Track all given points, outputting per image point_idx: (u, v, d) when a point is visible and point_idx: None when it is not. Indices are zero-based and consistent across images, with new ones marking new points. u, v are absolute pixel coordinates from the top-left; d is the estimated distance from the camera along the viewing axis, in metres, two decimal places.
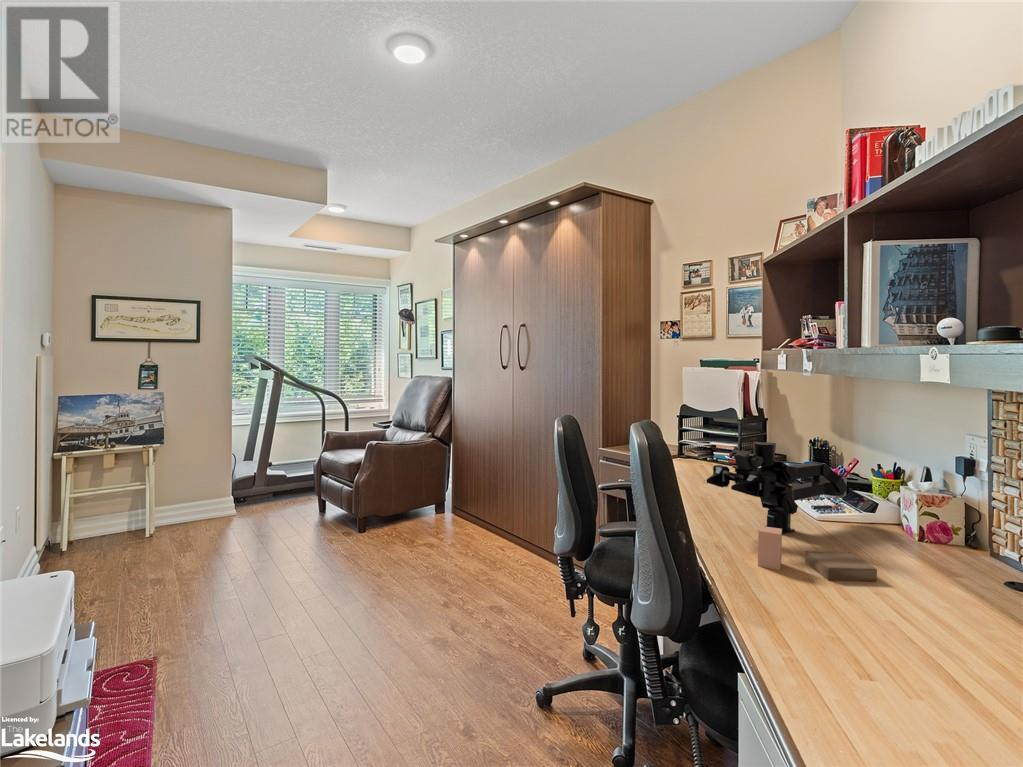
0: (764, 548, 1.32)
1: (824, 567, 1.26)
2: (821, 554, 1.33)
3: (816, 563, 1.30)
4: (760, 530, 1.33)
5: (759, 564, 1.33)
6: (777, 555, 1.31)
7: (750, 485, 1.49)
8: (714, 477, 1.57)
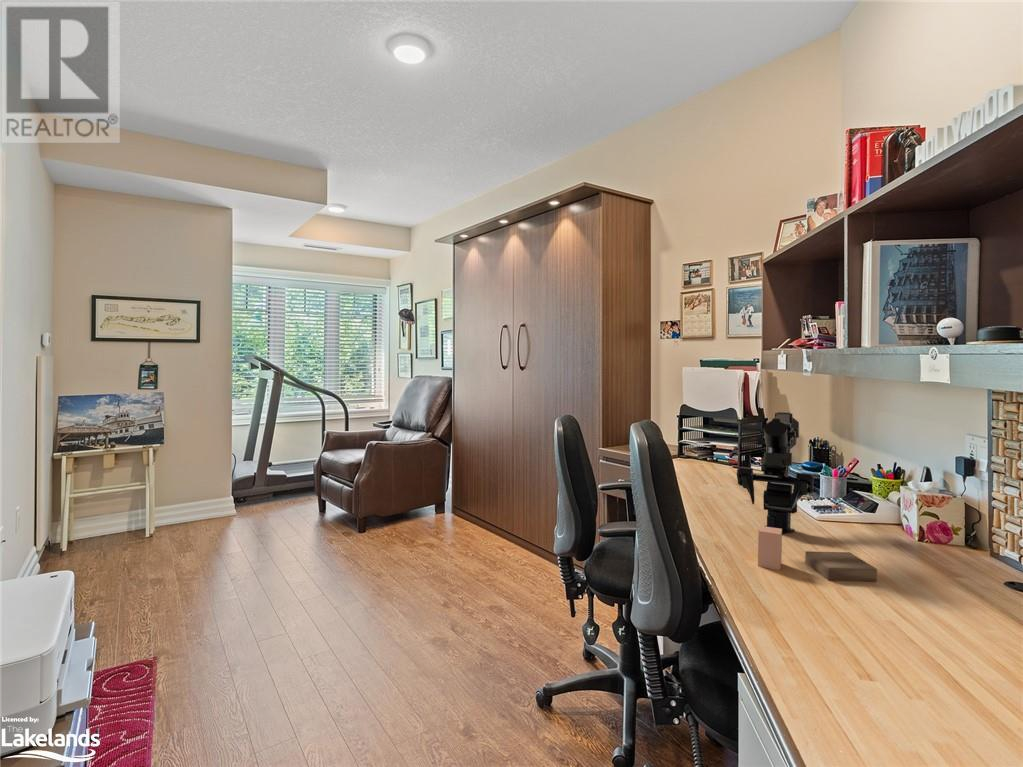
0: (764, 548, 1.32)
1: (824, 567, 1.26)
2: (821, 554, 1.33)
3: (816, 563, 1.30)
4: (760, 530, 1.33)
5: (759, 564, 1.33)
6: (777, 555, 1.31)
7: None
8: (753, 492, 1.44)
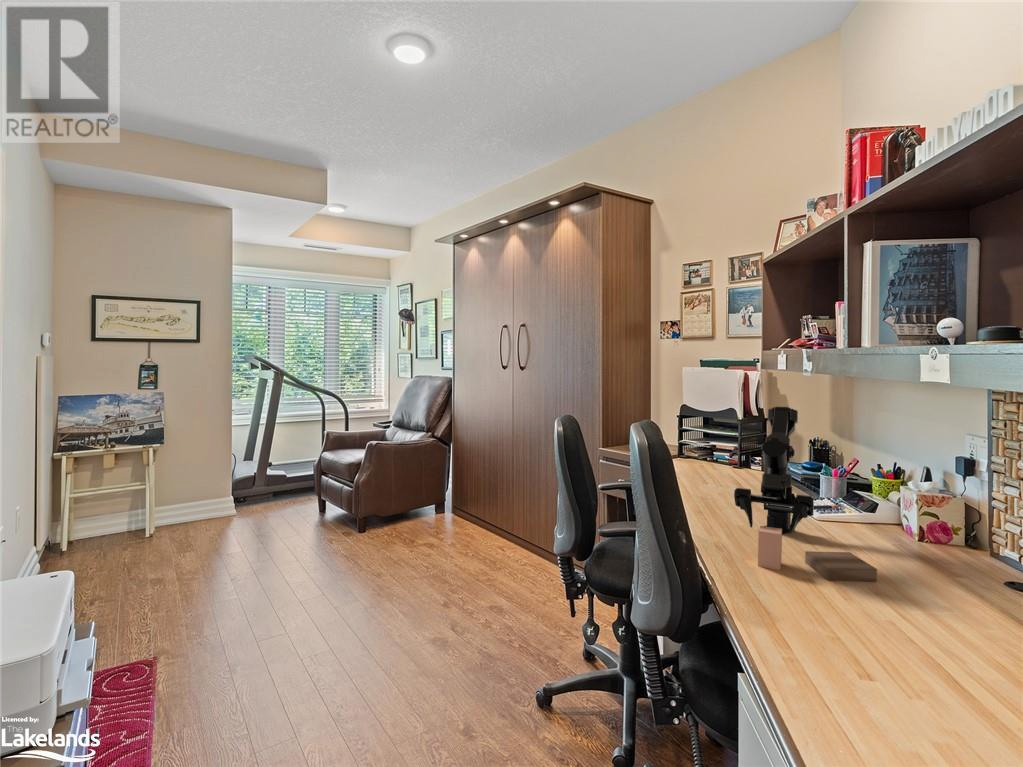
0: (764, 548, 1.32)
1: (824, 567, 1.26)
2: (821, 554, 1.33)
3: (816, 563, 1.30)
4: (760, 530, 1.33)
5: (759, 564, 1.33)
6: (777, 555, 1.31)
7: None
8: (751, 515, 1.38)
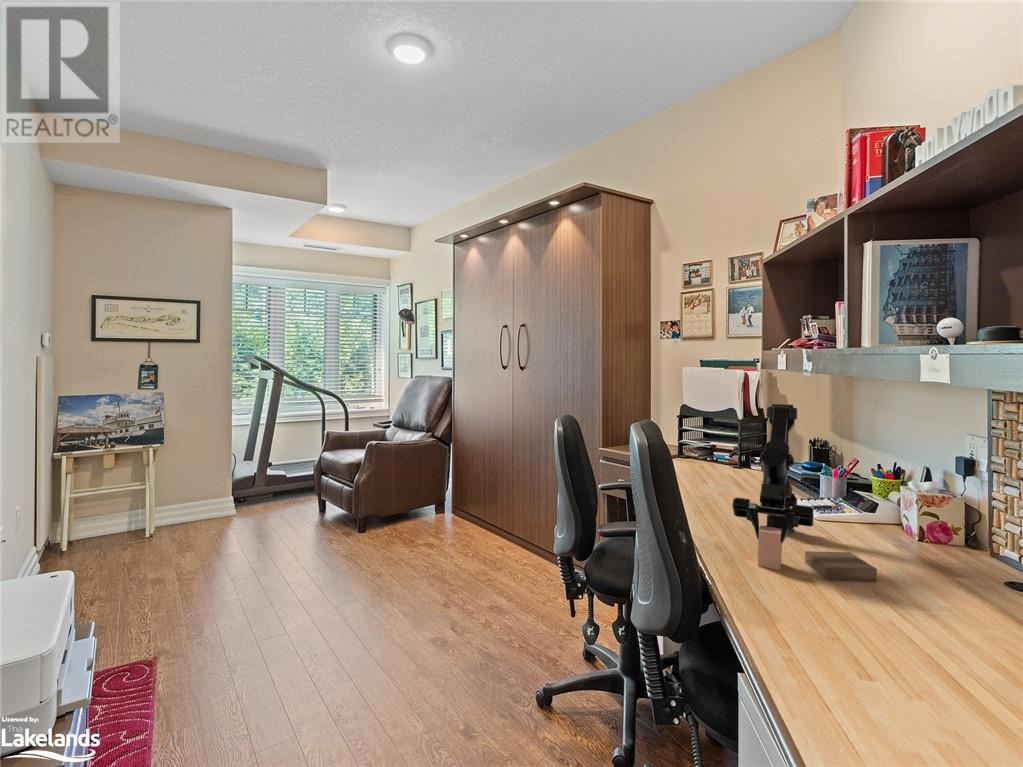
0: (764, 548, 1.32)
1: (824, 567, 1.26)
2: (821, 554, 1.33)
3: (816, 563, 1.30)
4: (760, 530, 1.33)
5: (759, 564, 1.33)
6: (777, 555, 1.31)
7: None
8: (758, 526, 1.35)
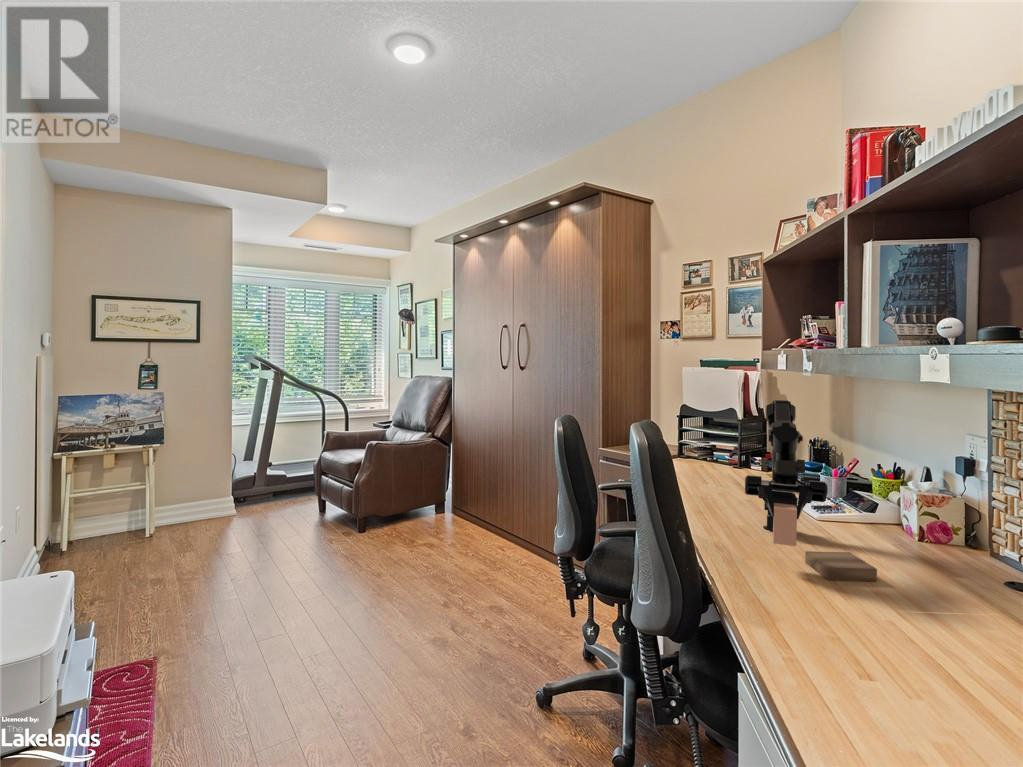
0: (779, 525, 1.30)
1: (824, 567, 1.26)
2: (821, 554, 1.33)
3: (816, 563, 1.30)
4: (776, 507, 1.31)
5: (775, 541, 1.31)
6: (793, 532, 1.29)
7: None
8: (773, 503, 1.33)
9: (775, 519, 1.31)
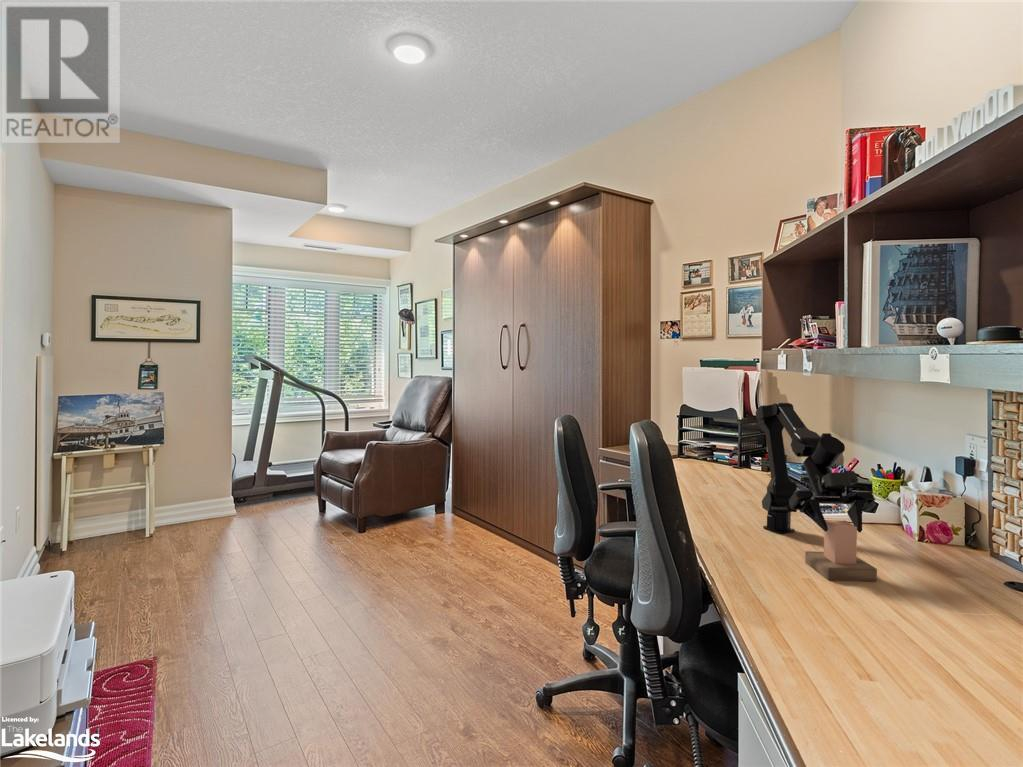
0: (840, 544, 1.27)
1: (824, 567, 1.26)
2: (821, 554, 1.33)
3: (816, 563, 1.30)
4: (835, 525, 1.27)
5: (836, 561, 1.27)
6: (853, 549, 1.27)
7: None
8: None
9: (836, 538, 1.27)
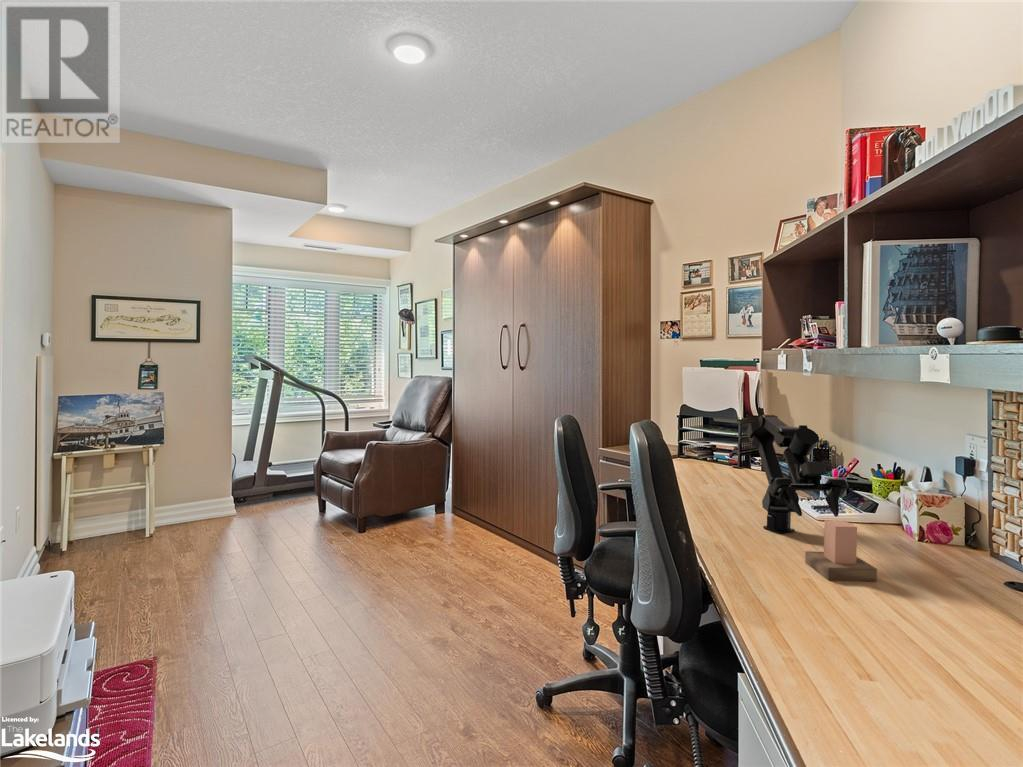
0: (840, 544, 1.27)
1: (824, 567, 1.26)
2: (821, 554, 1.33)
3: (816, 563, 1.30)
4: (835, 525, 1.27)
5: (836, 561, 1.27)
6: (853, 549, 1.27)
7: None
8: None
9: (836, 538, 1.27)
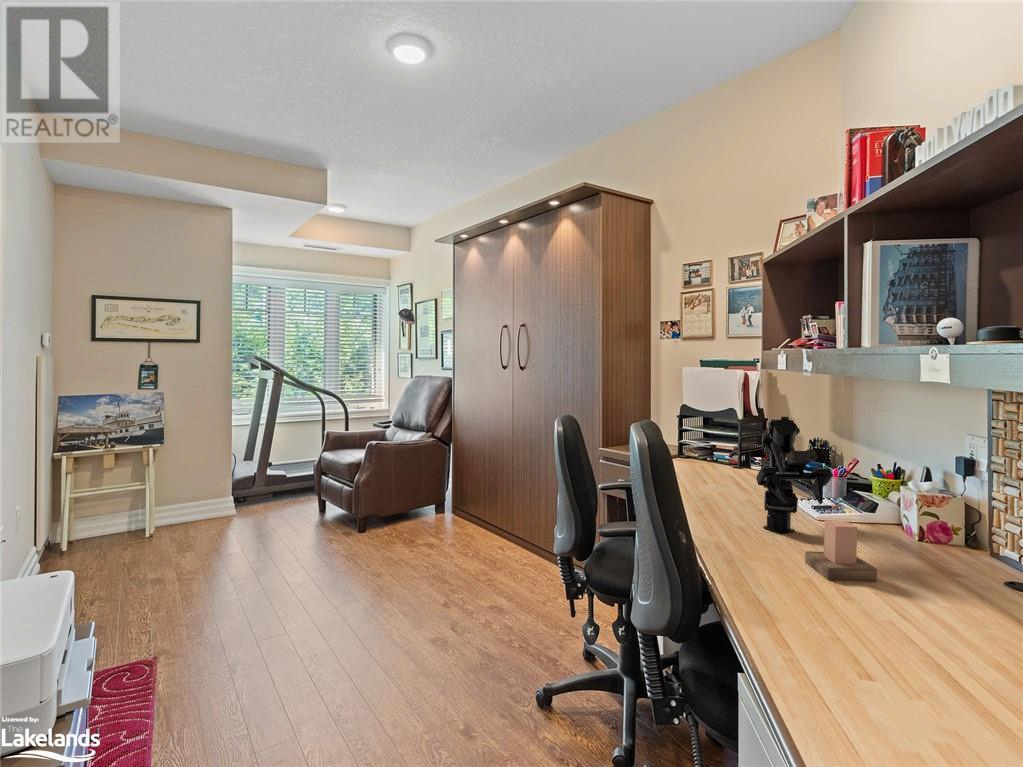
0: (840, 544, 1.27)
1: (824, 567, 1.26)
2: (821, 554, 1.33)
3: (816, 563, 1.30)
4: (835, 525, 1.27)
5: (836, 561, 1.27)
6: (853, 549, 1.27)
7: None
8: None
9: (836, 538, 1.27)
